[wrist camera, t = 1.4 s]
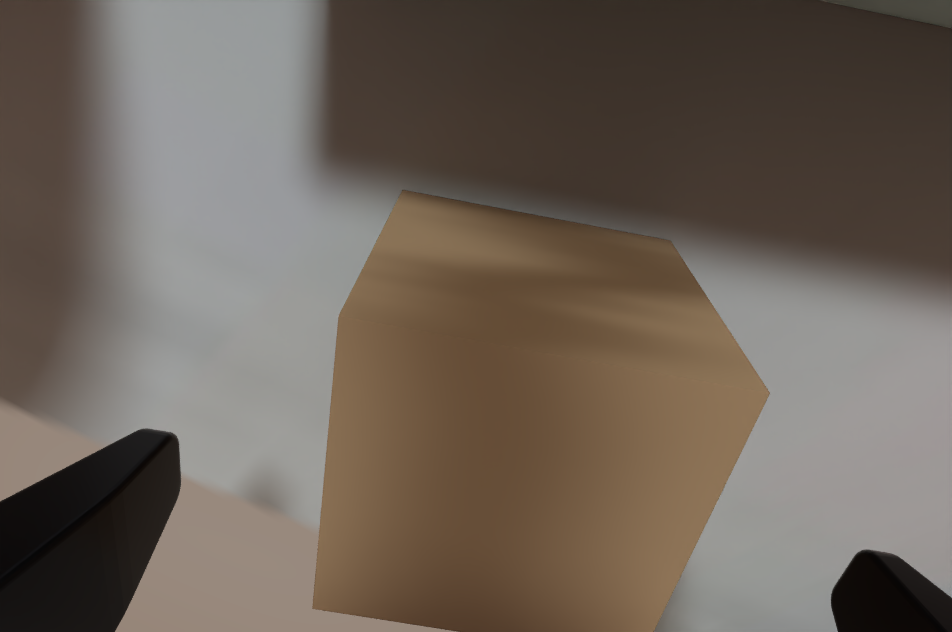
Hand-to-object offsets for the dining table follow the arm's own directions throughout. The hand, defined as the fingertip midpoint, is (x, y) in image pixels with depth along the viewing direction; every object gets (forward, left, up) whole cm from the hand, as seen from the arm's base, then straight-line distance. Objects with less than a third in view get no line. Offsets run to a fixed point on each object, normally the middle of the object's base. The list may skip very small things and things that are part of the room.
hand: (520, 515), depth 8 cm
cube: (0, 0, -5) cm, 5 cm away
